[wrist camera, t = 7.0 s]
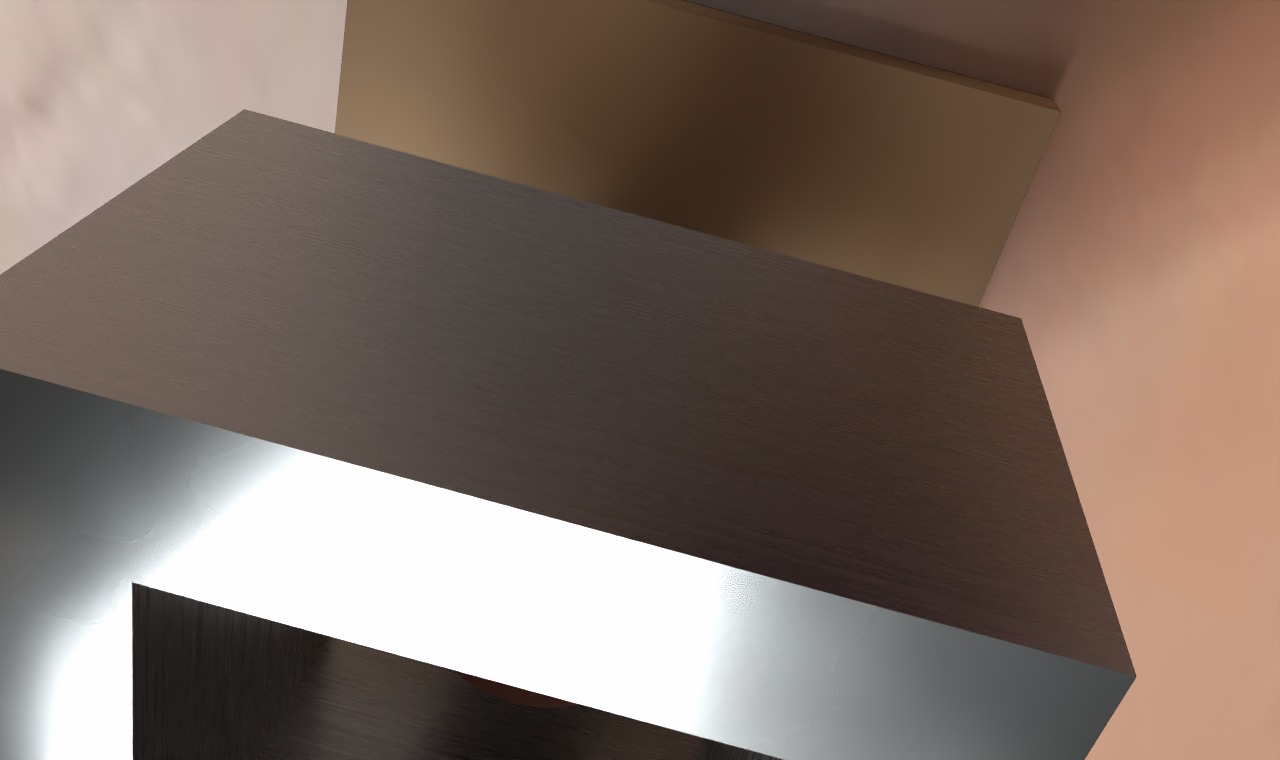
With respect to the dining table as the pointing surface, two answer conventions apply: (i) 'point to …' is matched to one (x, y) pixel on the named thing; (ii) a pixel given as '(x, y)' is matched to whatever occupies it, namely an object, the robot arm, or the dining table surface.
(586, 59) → the keeper
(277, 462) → the grey square hollow block
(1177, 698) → the dining table surface
